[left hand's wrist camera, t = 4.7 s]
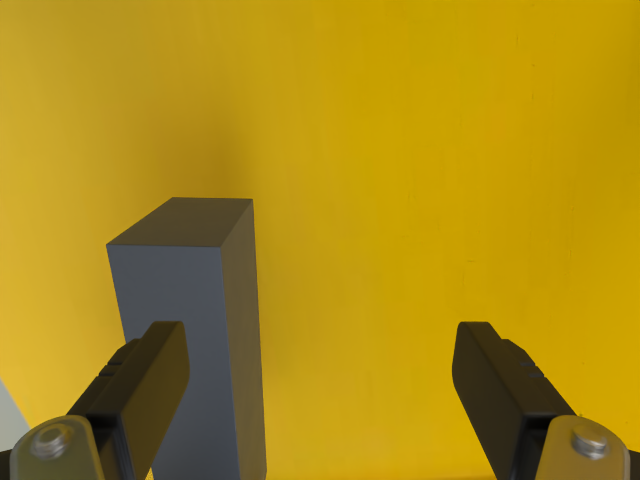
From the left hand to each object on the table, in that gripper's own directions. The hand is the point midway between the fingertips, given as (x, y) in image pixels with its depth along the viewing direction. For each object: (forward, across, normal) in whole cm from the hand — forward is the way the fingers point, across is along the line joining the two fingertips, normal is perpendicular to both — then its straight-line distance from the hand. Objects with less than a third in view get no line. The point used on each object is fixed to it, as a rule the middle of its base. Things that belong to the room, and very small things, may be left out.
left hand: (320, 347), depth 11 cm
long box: (+18, +8, +14) cm, 24 cm away
